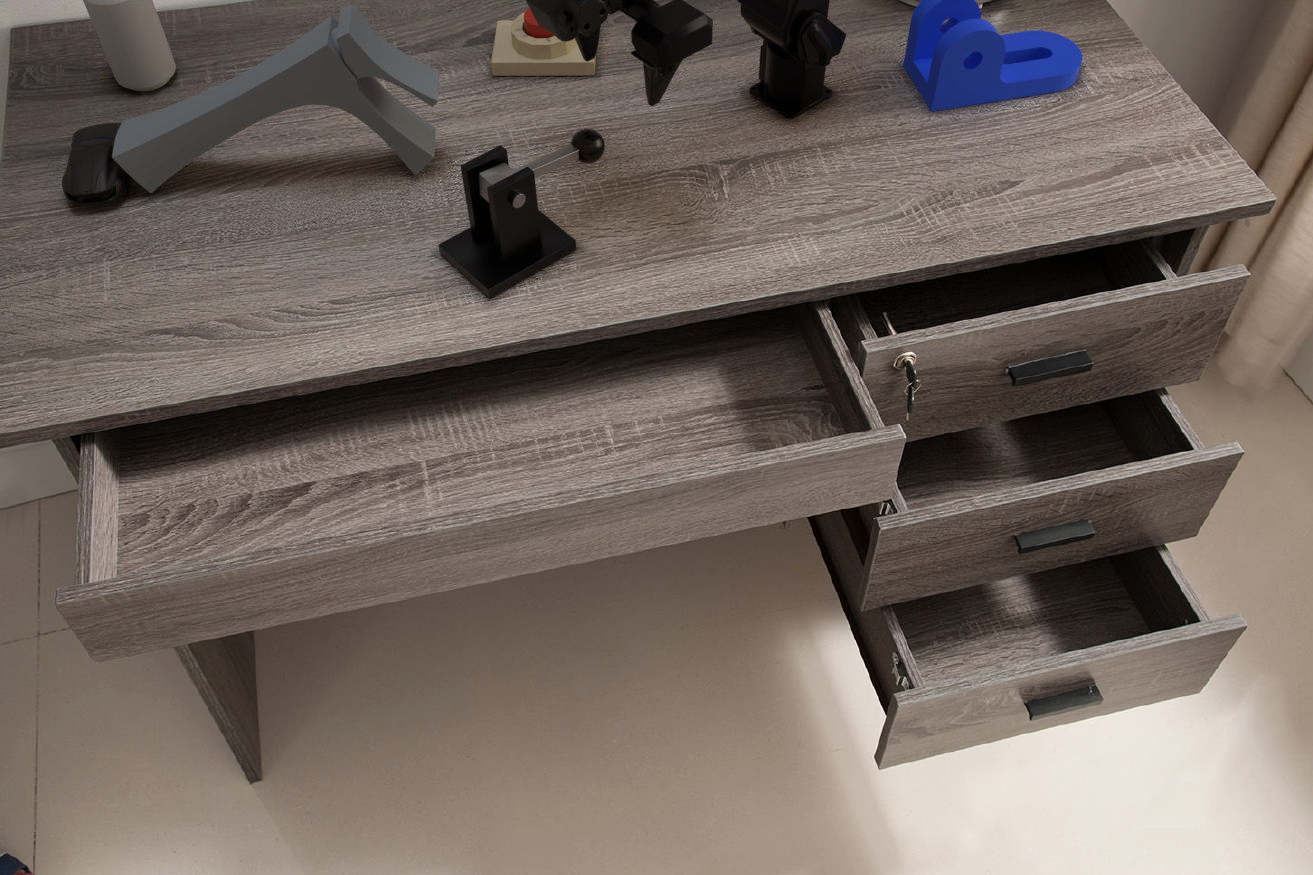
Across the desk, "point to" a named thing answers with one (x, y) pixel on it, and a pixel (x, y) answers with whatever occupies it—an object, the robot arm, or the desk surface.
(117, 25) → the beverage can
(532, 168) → the lever handle
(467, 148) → the desk surface
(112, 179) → the black computer mouse
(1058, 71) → the bracket
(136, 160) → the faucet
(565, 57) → the button box
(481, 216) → the lever switch
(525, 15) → the button
